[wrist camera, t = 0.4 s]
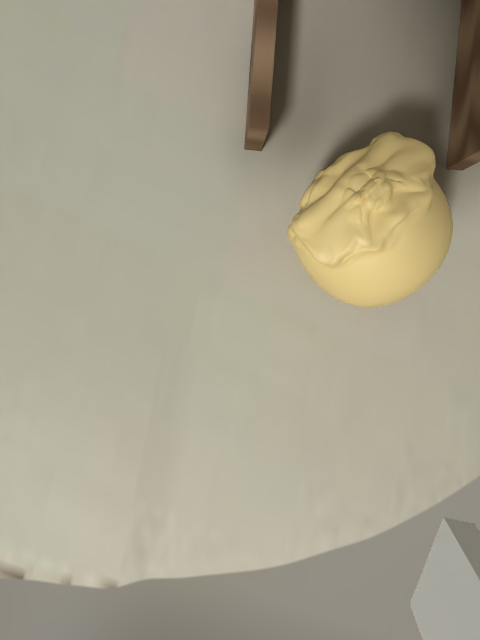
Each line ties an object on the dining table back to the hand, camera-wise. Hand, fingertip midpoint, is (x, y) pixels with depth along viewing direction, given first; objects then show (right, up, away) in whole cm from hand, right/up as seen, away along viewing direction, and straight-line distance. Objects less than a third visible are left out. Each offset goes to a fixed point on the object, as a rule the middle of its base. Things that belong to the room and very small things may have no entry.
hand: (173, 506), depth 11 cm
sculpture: (+11, +12, +28) cm, 32 cm away
